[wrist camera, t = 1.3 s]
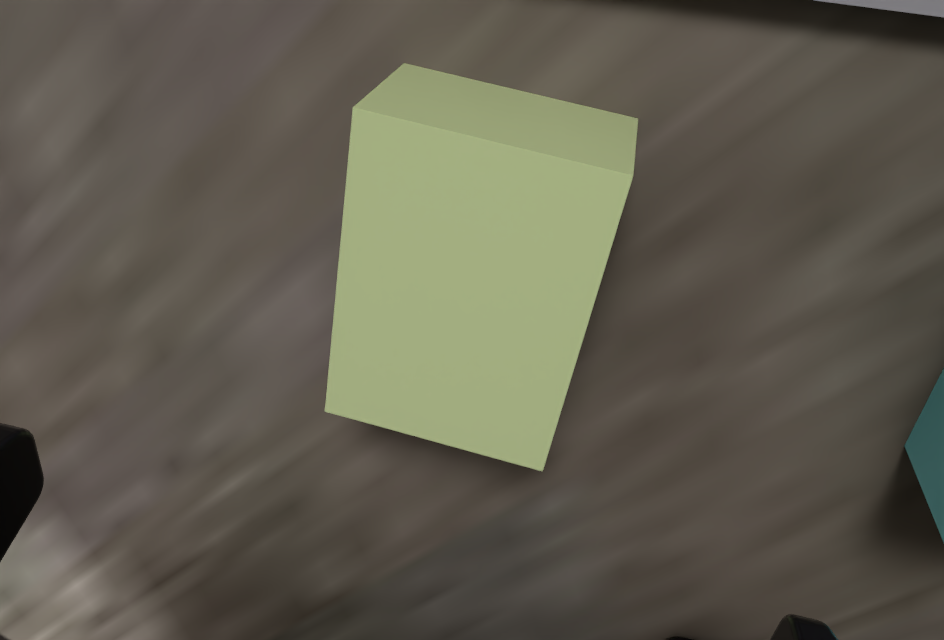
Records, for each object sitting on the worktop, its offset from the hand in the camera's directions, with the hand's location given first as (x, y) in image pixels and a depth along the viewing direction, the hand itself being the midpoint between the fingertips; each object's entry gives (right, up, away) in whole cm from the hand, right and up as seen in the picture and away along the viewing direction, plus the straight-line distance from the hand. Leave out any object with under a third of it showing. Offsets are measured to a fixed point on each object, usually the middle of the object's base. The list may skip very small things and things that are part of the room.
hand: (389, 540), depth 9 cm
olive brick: (+1, +5, +9) cm, 10 cm away
